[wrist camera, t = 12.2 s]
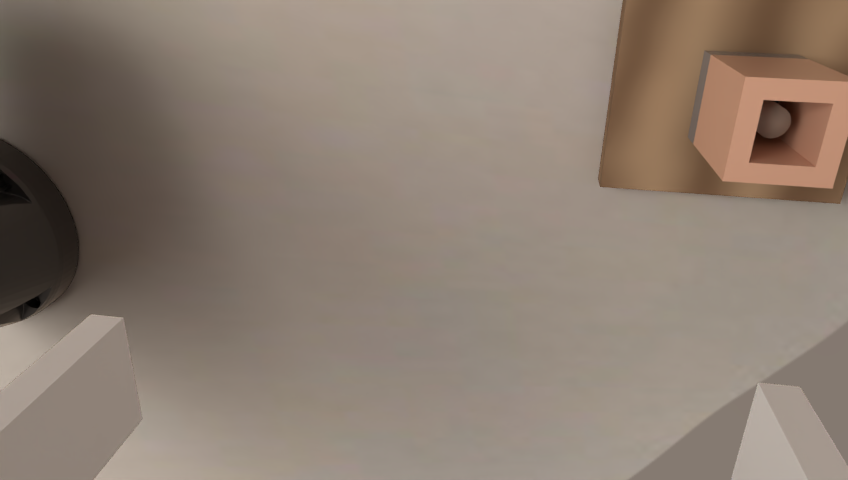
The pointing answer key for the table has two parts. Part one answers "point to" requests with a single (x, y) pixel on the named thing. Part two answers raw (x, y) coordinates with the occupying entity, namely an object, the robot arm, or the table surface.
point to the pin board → (678, 79)
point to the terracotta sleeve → (740, 110)
